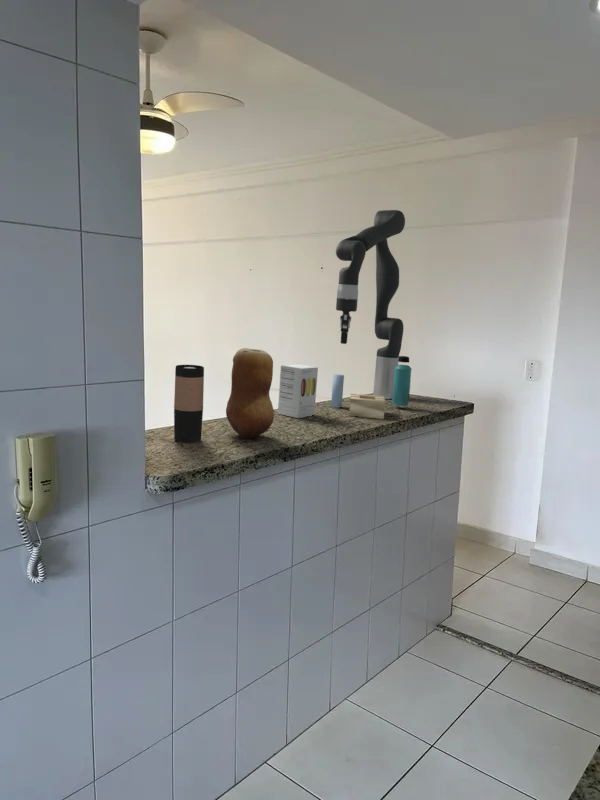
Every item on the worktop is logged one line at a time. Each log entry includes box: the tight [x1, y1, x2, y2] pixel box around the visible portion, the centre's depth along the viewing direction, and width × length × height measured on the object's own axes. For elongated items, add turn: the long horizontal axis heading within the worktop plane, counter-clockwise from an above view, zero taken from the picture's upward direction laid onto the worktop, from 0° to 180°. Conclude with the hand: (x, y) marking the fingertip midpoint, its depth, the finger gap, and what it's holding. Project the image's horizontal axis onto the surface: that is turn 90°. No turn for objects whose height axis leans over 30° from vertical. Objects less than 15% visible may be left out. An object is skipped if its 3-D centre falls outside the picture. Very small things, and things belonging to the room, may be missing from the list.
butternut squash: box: [225, 347, 275, 440], centre depth 166 cm, size 14×13×25 cm
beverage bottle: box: [391, 355, 412, 407], centre depth 225 cm, size 6×7×20 cm
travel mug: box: [173, 364, 205, 444], centre depth 159 cm, size 8×8×20 cm
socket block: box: [348, 393, 386, 420], centre depth 211 cm, size 12×12×6 cm
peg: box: [330, 373, 345, 409], centre depth 220 cm, size 4×4×12 cm
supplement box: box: [277, 363, 319, 419], centre depth 201 cm, size 10×9×17 cm
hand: (343, 342), depth 216 cm, fingers open, 8 cm apart
